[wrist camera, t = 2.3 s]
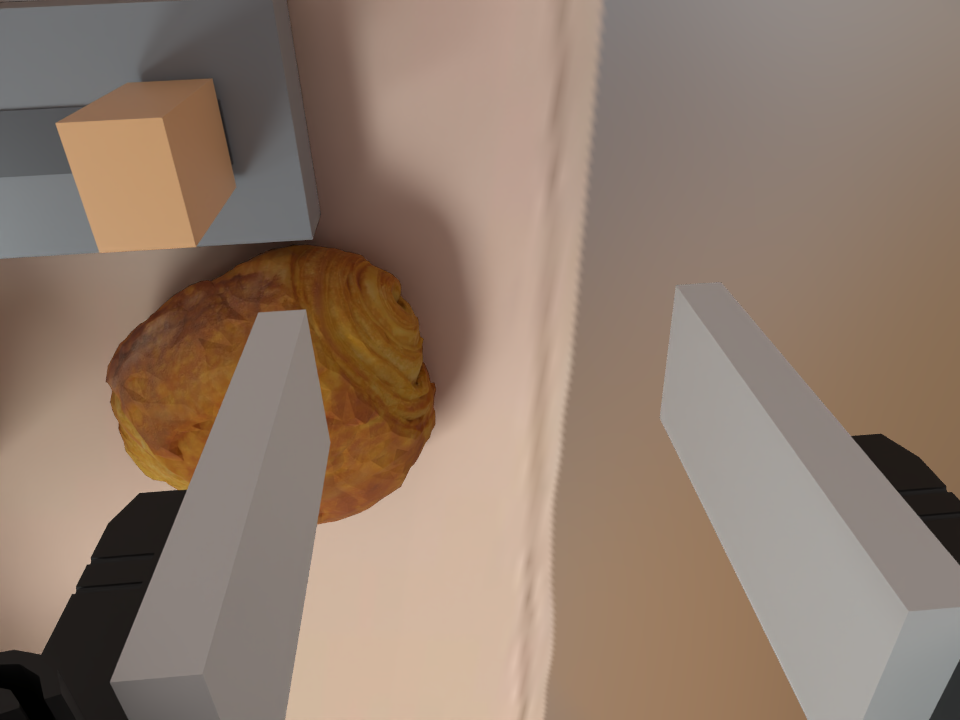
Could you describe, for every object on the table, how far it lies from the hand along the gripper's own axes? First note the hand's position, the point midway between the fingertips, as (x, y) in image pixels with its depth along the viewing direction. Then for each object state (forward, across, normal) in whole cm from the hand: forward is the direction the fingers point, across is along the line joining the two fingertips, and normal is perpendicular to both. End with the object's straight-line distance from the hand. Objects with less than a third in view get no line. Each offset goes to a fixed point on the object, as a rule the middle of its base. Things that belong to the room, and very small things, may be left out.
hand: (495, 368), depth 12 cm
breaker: (+17, +10, 0) cm, 20 cm away
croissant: (+21, +9, +13) cm, 27 cm away
